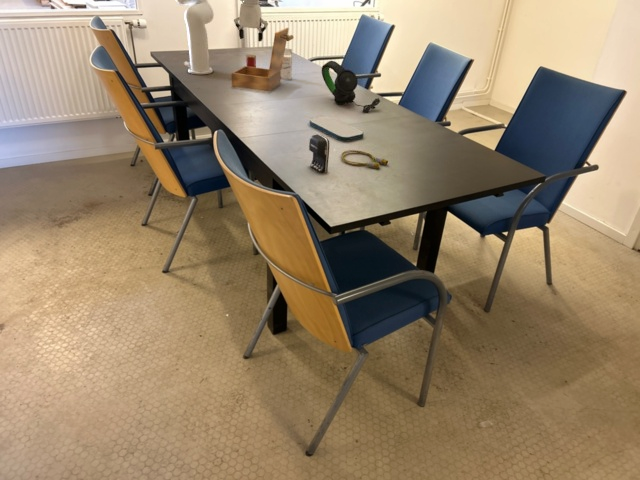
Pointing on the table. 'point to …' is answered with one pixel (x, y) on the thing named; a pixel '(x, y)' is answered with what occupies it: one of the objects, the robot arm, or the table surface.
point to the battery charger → (319, 153)
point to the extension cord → (370, 164)
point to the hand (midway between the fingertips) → (250, 39)
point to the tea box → (255, 78)
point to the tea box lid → (278, 51)
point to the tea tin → (251, 60)
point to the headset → (343, 85)
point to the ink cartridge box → (287, 64)
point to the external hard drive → (336, 128)
